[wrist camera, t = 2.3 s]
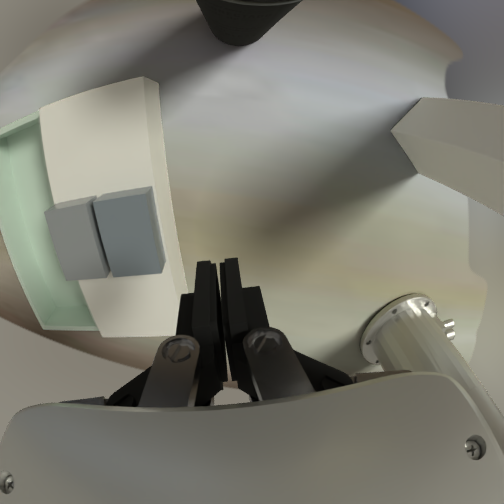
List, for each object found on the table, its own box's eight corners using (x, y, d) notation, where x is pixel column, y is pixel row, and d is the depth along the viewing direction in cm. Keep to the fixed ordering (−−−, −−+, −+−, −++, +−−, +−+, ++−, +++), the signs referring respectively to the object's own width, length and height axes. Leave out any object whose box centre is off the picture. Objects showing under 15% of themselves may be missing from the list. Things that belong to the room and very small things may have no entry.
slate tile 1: (152, 185, 19) (145, 193, 17) (166, 260, 22) (161, 273, 20) (103, 193, 19) (92, 202, 17) (120, 264, 22) (113, 277, 20)
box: (65, 107, 19) (42, 109, 16) (112, 307, 29) (102, 330, 26) (4, 132, 19) (-19, 138, 15) (55, 309, 29) (43, 329, 25)
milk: (388, 130, 23) (604, 212, 4) (422, 96, 22) (621, 140, 2) (418, 174, 26) (593, 284, 6) (449, 140, 24) (620, 216, 4)
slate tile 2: (96, 195, 19) (85, 203, 17) (114, 265, 22) (106, 277, 20) (56, 203, 19) (43, 211, 17) (75, 268, 21) (66, 280, 20)
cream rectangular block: (158, 83, 20) (143, 76, 15) (190, 302, 30) (186, 334, 26) (68, 106, 19) (39, 108, 15) (115, 307, 29) (102, 337, 25)
